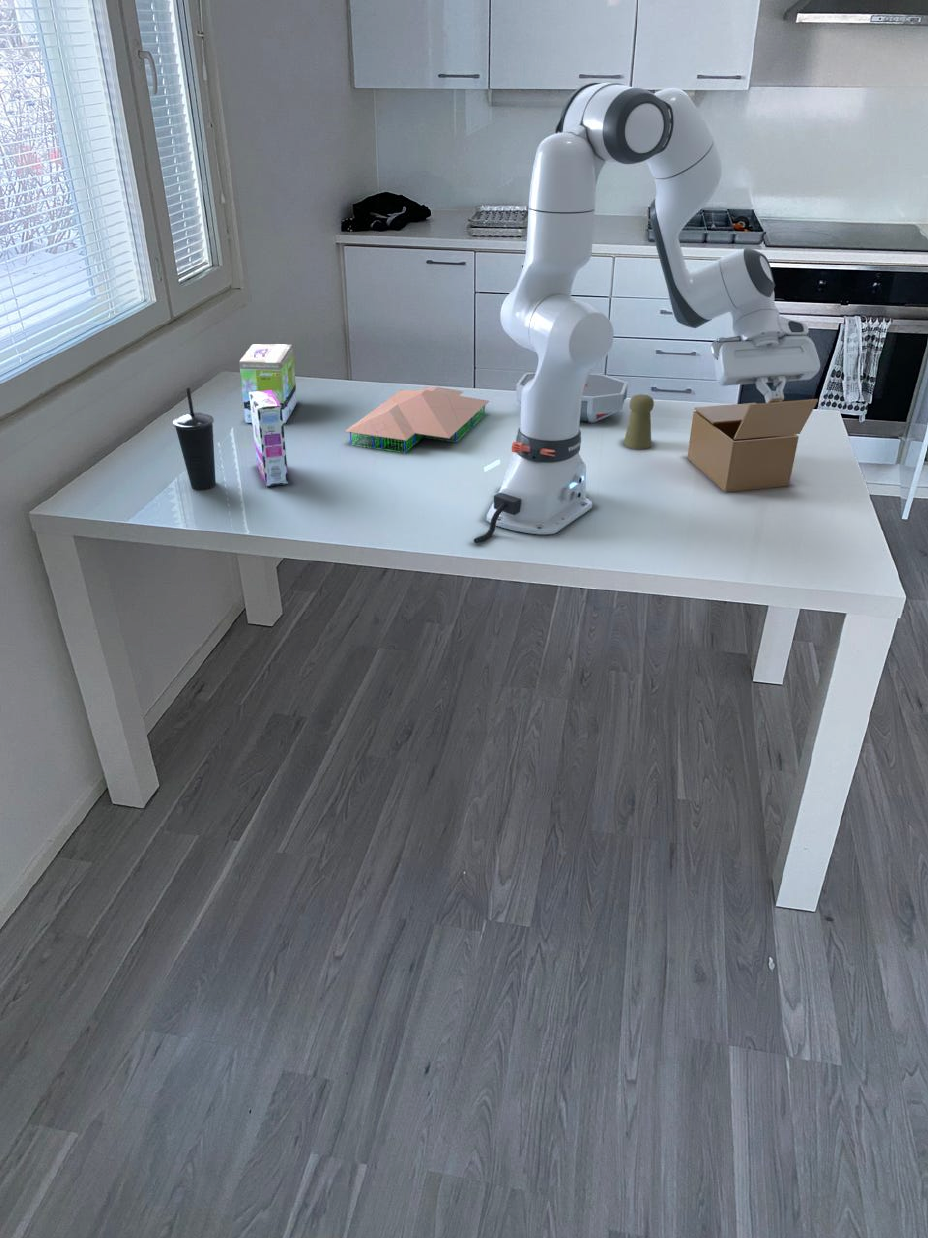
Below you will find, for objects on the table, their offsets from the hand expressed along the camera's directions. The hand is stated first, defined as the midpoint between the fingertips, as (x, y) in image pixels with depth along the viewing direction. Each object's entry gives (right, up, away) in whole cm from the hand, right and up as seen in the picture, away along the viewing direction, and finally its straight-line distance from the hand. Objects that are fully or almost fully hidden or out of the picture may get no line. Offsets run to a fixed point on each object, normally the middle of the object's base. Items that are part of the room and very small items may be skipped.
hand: (775, 401), depth 177 cm
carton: (-2, -10, +18) cm, 21 cm away
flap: (0, -3, +1) cm, 3 cm away
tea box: (-105, +8, +48) cm, 116 cm away
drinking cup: (-112, -14, +12) cm, 113 cm away
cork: (-20, -3, +31) cm, 37 cm away
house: (-69, +3, +40) cm, 79 cm away
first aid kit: (-33, +8, +47) cm, 58 cm away
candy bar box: (-98, -12, +16) cm, 100 cm away
